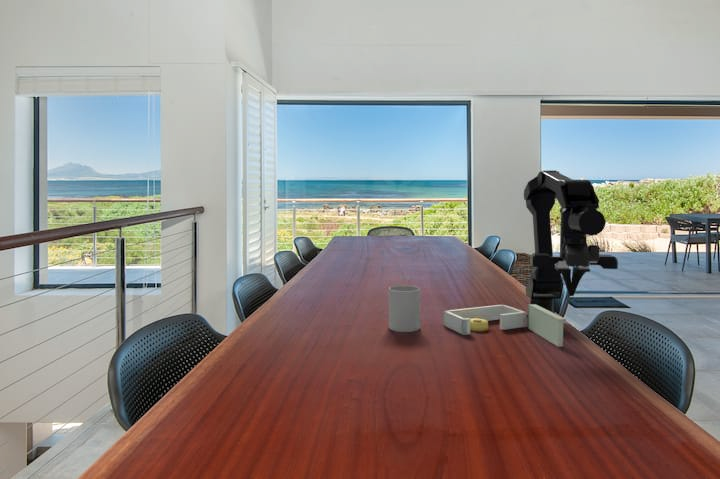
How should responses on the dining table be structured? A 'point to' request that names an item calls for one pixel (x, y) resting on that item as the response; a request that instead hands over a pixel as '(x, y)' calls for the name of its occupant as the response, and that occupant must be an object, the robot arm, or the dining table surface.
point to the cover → (546, 324)
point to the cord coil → (478, 324)
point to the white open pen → (485, 317)
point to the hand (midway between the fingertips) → (571, 295)
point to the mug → (404, 308)
